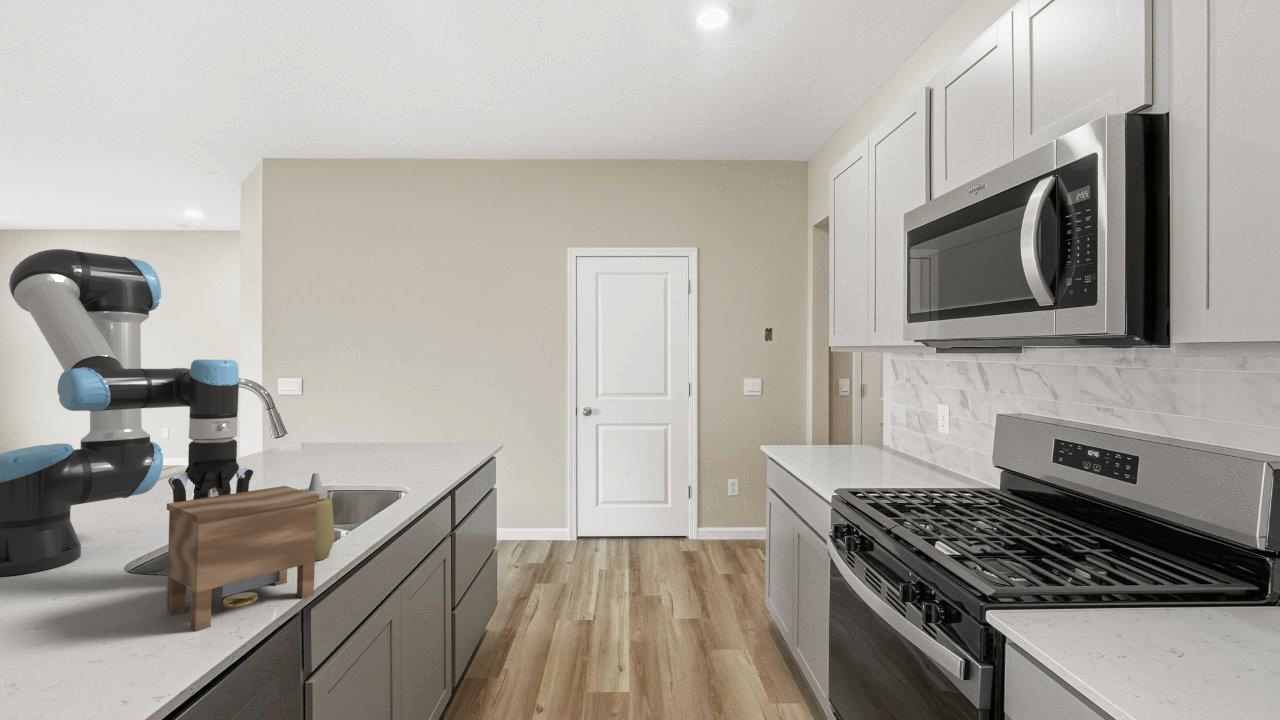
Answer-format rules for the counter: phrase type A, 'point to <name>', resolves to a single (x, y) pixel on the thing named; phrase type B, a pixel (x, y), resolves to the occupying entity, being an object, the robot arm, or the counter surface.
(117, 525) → the counter surface
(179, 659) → the counter surface
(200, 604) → the walnut cabinet
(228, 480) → the robot arm
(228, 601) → the brass token
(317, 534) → the squeeze bottle
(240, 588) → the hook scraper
